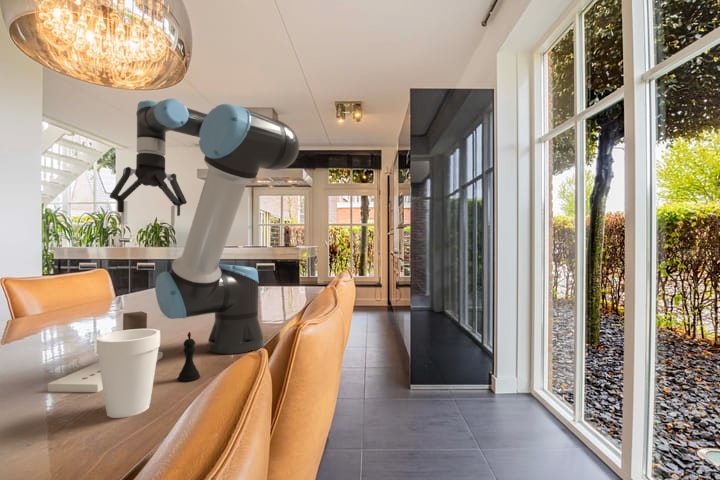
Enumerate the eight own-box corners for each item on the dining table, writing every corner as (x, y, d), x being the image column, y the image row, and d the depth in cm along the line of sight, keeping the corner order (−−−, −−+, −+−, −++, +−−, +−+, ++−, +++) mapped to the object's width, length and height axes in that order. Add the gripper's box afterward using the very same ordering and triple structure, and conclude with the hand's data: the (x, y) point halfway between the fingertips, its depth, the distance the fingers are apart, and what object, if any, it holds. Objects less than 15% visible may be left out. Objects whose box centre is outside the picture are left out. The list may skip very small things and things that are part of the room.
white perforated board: (162, 357, 93) (162, 351, 93) (97, 392, 71) (97, 384, 71) (124, 357, 93) (124, 350, 93) (47, 391, 71) (47, 383, 71)
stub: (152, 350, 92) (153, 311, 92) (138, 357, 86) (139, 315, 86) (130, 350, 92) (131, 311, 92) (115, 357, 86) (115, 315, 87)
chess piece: (175, 383, 75) (175, 335, 76) (180, 375, 80) (181, 330, 80) (197, 381, 76) (198, 333, 77) (201, 374, 81) (202, 329, 81)
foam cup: (117, 398, 68) (118, 328, 68) (168, 397, 68) (169, 328, 69) (82, 423, 58) (83, 342, 58) (142, 421, 59) (143, 341, 59)
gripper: (188, 164, 121) (187, 227, 120) (97, 148, 102) (96, 223, 102) (198, 160, 116) (197, 226, 115) (105, 143, 97) (104, 222, 97)
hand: (150, 225), depth 109 cm, fingers open, 13 cm apart
